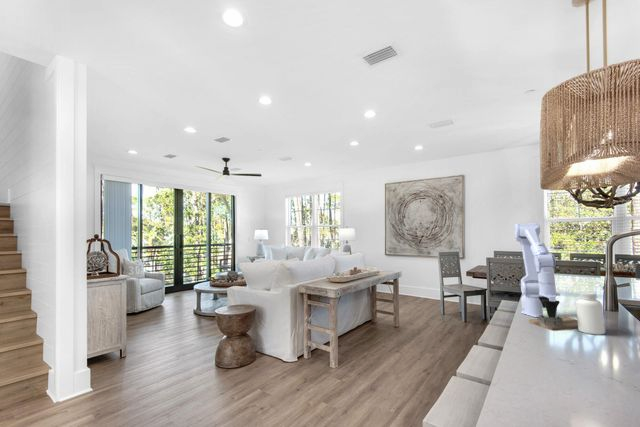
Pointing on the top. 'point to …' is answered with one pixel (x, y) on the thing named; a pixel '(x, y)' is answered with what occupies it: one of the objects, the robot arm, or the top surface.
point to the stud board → (555, 323)
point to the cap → (547, 314)
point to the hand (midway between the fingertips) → (550, 315)
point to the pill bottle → (589, 314)
